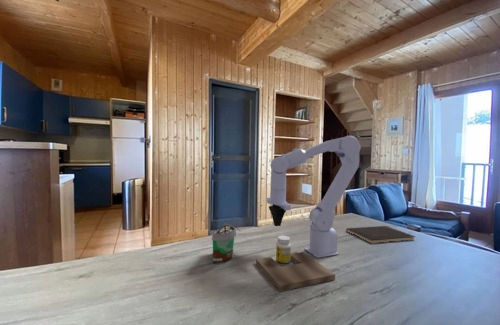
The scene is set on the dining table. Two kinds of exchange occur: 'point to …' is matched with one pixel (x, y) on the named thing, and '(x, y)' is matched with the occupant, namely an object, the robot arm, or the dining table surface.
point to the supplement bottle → (283, 251)
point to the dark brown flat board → (380, 234)
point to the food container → (223, 244)
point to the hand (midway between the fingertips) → (277, 225)
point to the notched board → (295, 272)
